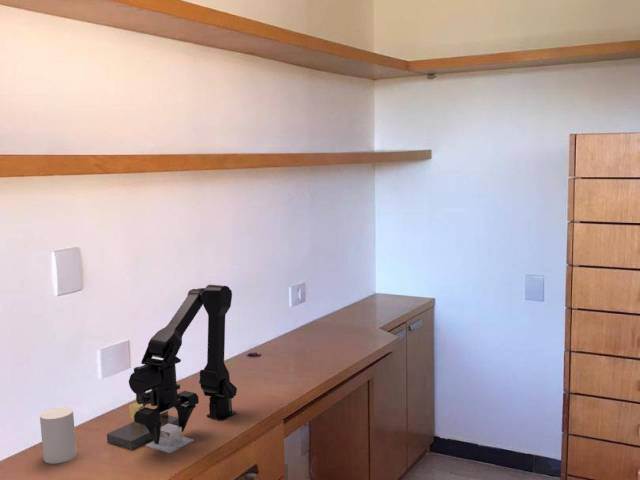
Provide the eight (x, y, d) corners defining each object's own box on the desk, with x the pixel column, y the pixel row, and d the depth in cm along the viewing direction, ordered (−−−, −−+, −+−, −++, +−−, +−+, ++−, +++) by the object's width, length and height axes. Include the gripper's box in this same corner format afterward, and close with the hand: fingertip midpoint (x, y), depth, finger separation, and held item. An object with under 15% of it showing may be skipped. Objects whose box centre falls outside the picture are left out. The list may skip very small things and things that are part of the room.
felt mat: (170, 434, 186) (170, 432, 186) (193, 440, 181) (193, 439, 181) (145, 446, 179) (145, 444, 179) (169, 453, 174) (169, 452, 174)
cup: (80, 449, 179) (77, 406, 177) (70, 462, 170) (66, 418, 169) (50, 450, 178) (46, 407, 177) (38, 464, 170) (34, 419, 169)
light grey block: (169, 437, 183) (168, 423, 183) (182, 440, 180) (181, 426, 180) (157, 443, 179) (156, 429, 179) (170, 447, 177) (169, 432, 176)
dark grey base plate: (156, 419, 197) (155, 402, 196) (180, 426, 191) (179, 408, 191) (107, 442, 182) (105, 423, 181) (131, 450, 177) (130, 430, 176)
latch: (136, 415, 193) (135, 402, 193) (145, 418, 191) (144, 404, 191) (130, 418, 191) (129, 405, 191) (139, 421, 189) (138, 407, 189)
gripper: (170, 368, 190) (173, 420, 192) (117, 388, 175) (122, 444, 176) (198, 373, 184) (201, 427, 186) (146, 395, 168) (151, 453, 170)
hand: (169, 437), depth 180 cm, fingers open, 9 cm apart
